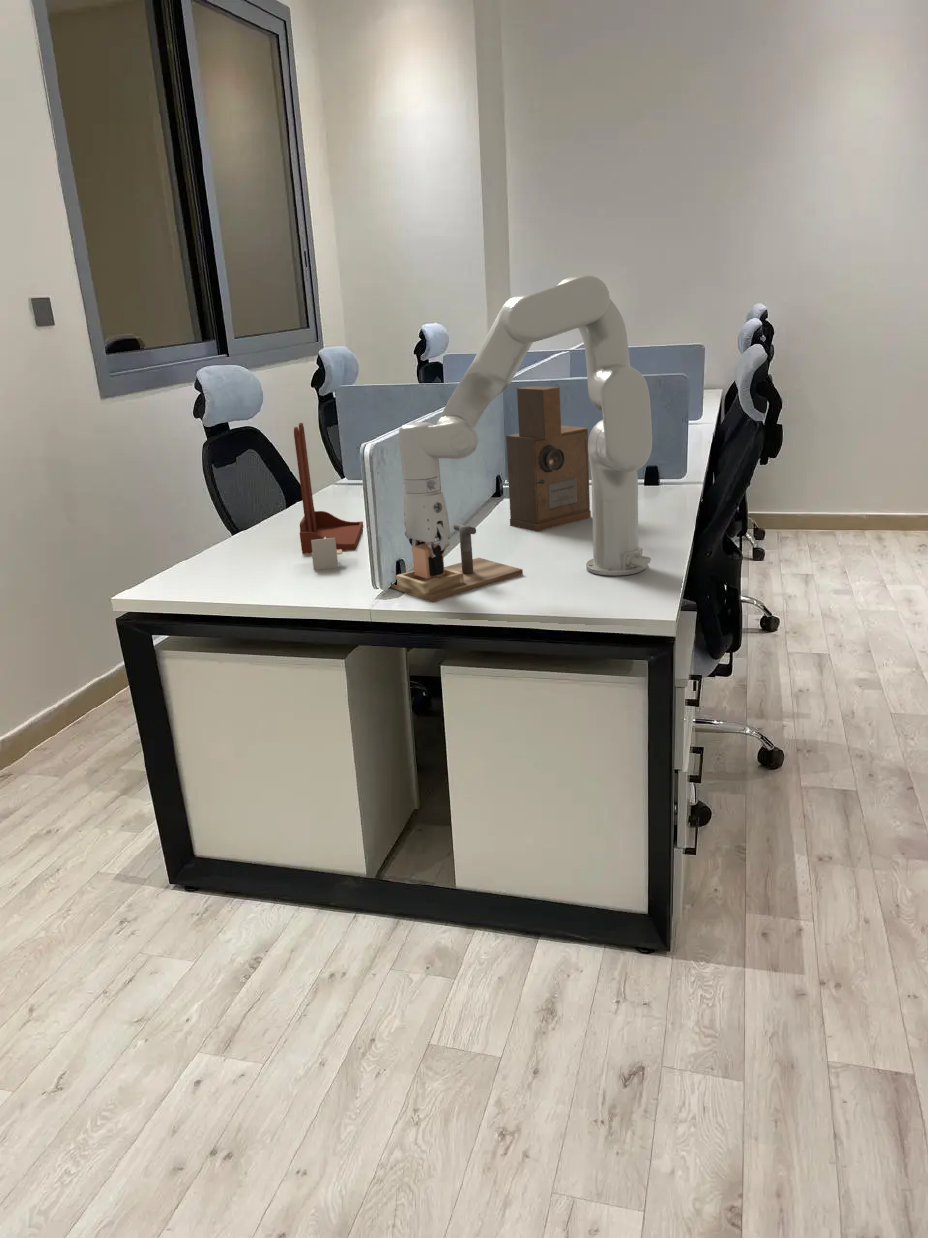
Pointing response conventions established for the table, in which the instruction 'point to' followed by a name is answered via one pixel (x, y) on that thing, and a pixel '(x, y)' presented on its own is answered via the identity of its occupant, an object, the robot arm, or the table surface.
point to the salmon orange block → (422, 560)
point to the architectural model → (325, 553)
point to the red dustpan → (320, 521)
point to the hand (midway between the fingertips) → (429, 571)
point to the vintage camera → (546, 464)
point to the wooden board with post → (457, 574)
